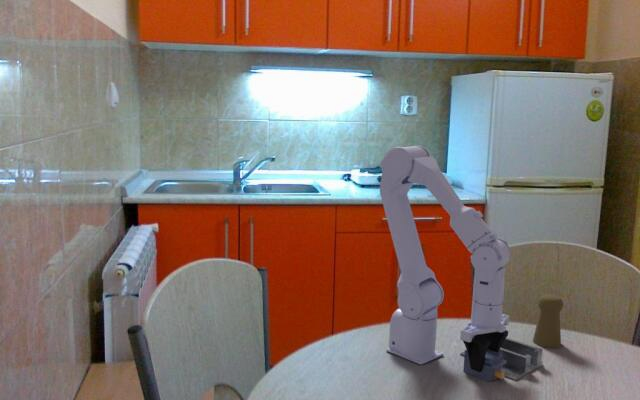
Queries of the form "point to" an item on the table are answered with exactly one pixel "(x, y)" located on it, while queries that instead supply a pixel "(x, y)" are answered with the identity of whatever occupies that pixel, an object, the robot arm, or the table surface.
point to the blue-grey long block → (486, 366)
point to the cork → (548, 322)
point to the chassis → (519, 358)
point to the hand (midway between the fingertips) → (482, 366)
